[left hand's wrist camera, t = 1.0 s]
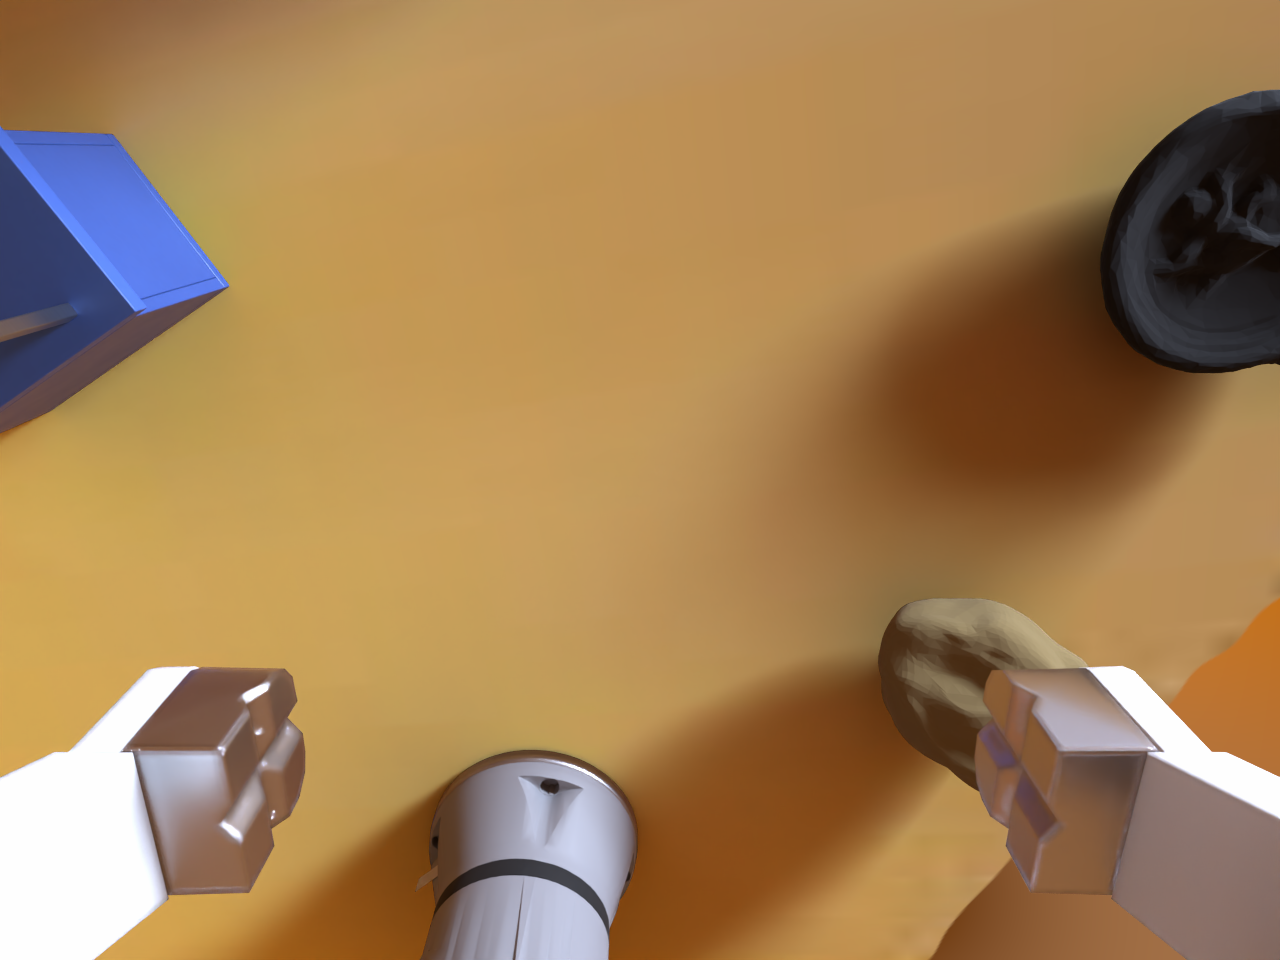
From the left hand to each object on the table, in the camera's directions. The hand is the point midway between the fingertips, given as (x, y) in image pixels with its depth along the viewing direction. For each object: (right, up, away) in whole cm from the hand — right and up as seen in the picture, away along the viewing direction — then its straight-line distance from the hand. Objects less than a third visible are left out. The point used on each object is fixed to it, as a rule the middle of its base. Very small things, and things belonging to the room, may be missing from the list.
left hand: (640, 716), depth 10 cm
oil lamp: (+34, +16, +41) cm, 56 cm away
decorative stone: (+22, -9, +50) cm, 56 cm away
